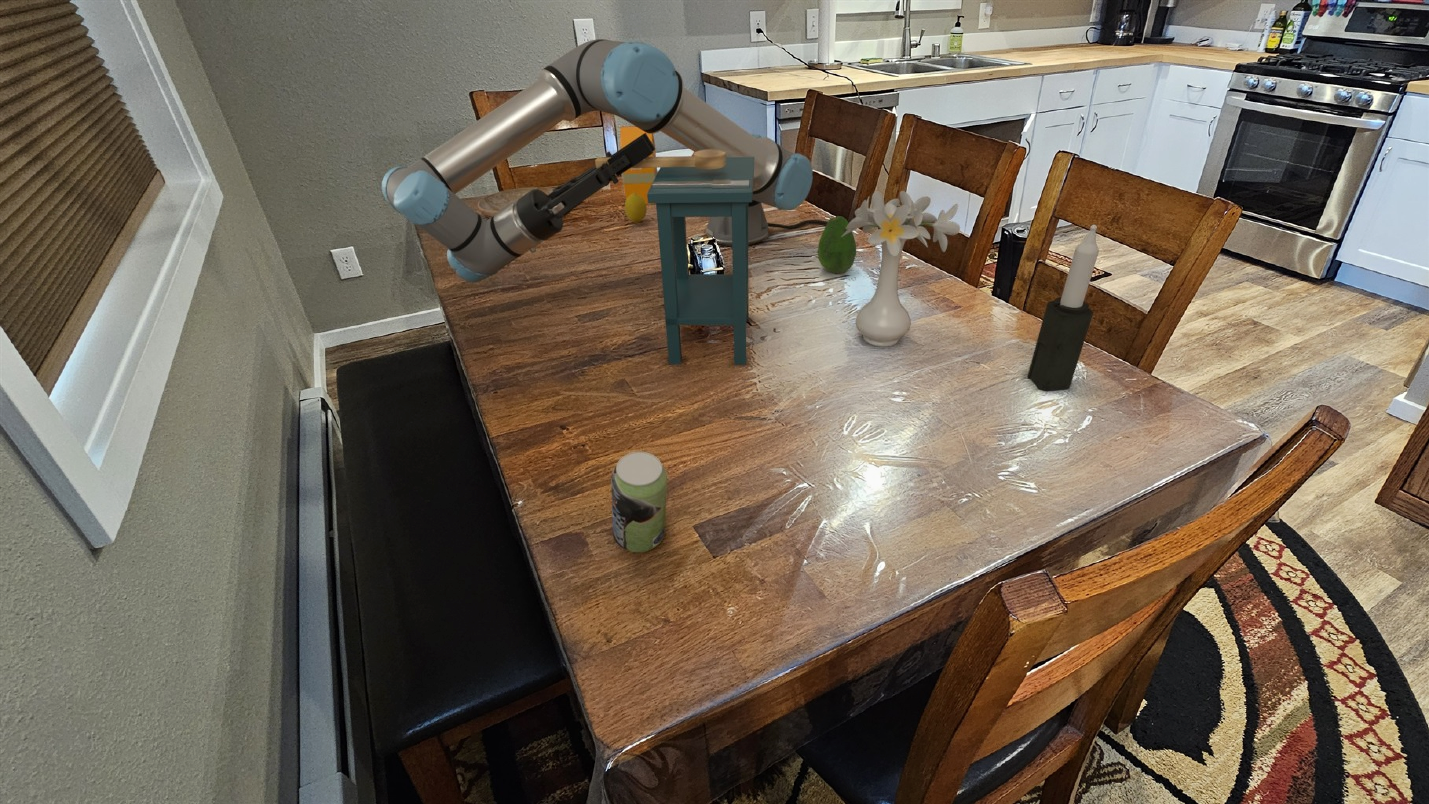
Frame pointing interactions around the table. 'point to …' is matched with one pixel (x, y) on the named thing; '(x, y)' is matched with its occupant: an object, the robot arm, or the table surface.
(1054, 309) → the candle
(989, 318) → the table surface
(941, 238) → the flower vase
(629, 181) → the orange juice
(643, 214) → the lemon
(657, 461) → the beverage can
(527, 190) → the ceramic bowl
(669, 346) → the stand
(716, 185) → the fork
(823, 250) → the avocado
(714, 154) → the wooden spoon
